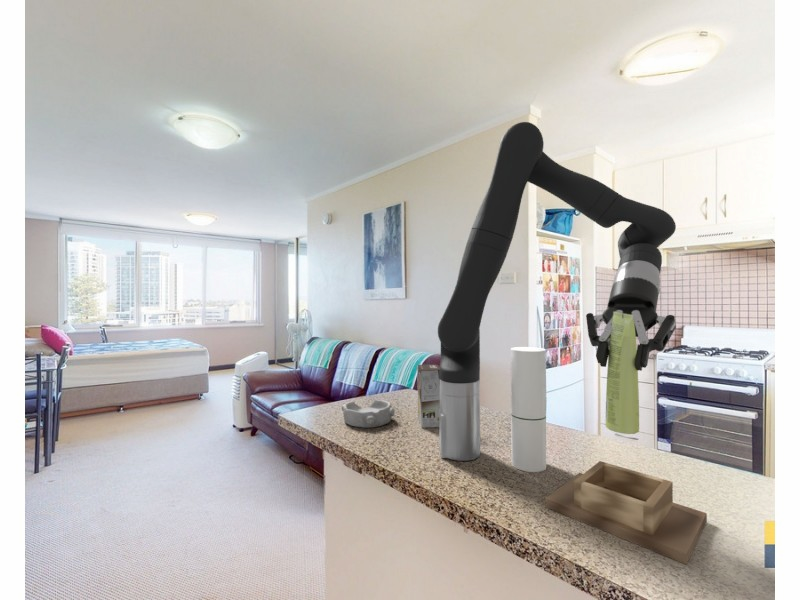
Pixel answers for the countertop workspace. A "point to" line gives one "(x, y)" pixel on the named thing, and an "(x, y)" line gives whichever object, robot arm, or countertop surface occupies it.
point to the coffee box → (428, 395)
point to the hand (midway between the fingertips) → (619, 365)
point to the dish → (368, 414)
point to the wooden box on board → (631, 509)
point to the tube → (622, 377)
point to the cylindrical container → (528, 408)
